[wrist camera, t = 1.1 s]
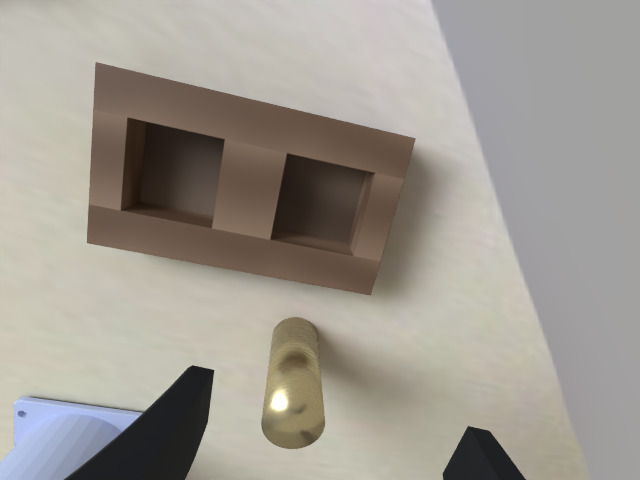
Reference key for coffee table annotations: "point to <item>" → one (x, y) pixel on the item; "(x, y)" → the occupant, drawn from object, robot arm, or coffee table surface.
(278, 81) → the coffee table surface
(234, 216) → the socket block
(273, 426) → the brass pin
